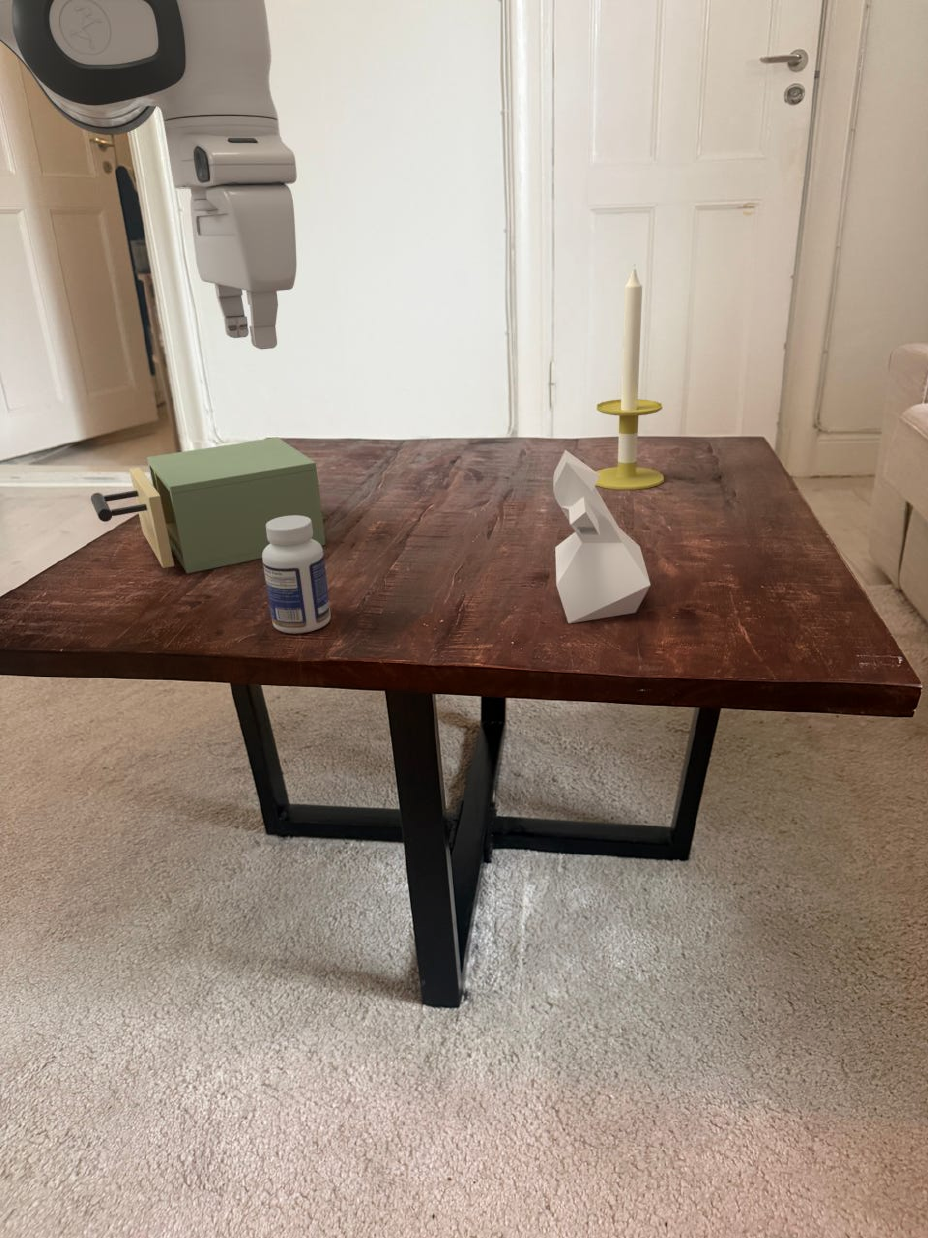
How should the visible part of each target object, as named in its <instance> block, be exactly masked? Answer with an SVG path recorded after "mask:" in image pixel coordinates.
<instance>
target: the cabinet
mask: <svg viewBox="0 0 928 1238" xmlns="http://www.w3.org/2000/svg"><path fill="white" fill-rule="evenodd" d="M146 460H147V465H148V470H149V475H150V480H151V481H150V482H151V484H152V485H153V486H154V488H155V489H156V491H157V492H158V490H157V485H156V480H155V475H154V472H155V473H156V474H157V476H158V477H159V478H160V480H161V481H162V482H163V484H164V485H165V486H166V488H167V489H168V490H169V491H170V496H171V501H172V506H173V511H174V516H175V521H176V526H177V531H178V536H179V542H180V547H181V552H182V553H181V552H180V550H179V548H178V547H177V545H176V544H175V542H174V541H173V539H172V538H171V536H170V535H169V533H168V537H169V541H170V546H171V551H172V553H173V555H174V556H175V557H176V559H177V560H178V562H179V564H180V565H181V567H182V568H183V570H184V572H185V573H186V574H192V573H197V572H201V571H207V570H211V569H216V568H221V567H226V566H230V565H236V564H240V563H241V564H242V563H245V562H251V561H254V560H260V559H262V553H263V550H264V549H265V547H266V546H268V545H269V544H271V543H270V542H269V541H268V539H267V533H266V523H267V522H269V521H270V520H273V519H275V518H278V517H283V516H292V515H300V516H305V517H308V518H310V519H311V522H312V528H313V536H312V537H311V539H313V540H316V541H317V542H318V543H319V544H320V545H321V546H322V547H323V546H326V537H325V527H324V520H323V512H322V511H323V510H322V502H321V495H320V494H321V493H320V486H319V478H318V469H317V463H316V461H314V460H313V459H311V458H310V457H308V456H307V455H305V454H303V453H302V452H300V451H299V450H298V449H296V448H295V447H293V446H291V445H290V444H288V443H287V442H285V441H284V440H283V439H281V438H280V437H271V438H265V439H257V440H252V441H251V440H250V441H244V442H237V443H231V444H225V445H219V446H218V445H217V446H212V447H204V448H199V449H191V450H185V451H178V452H172V453H171V452H170V453H166V454H159V455H158V454H157V455H152V456H147V457H146Z"/></svg>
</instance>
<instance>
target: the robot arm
mask: <svg viewBox="0 0 928 1238" xmlns="http://www.w3.org/2000/svg"><path fill="white" fill-rule="evenodd" d="M269 31H270V30H269V22H268V15H267V9H266V3H265V0H0V42H1V43H2V44H3V45H4V46H5V47H6V48H7V49H9V50H10V51H11V52H12V53H13V54H14V55H15V56H16V57H17V58H18V59H19V60H20V62H21V63H22V64H23V65H24V66H25V68H26V69H27V71H28V72H29V73H30V75H31V76H32V78H33V80H34V81H35V82H36V84H37V86H38V87H39V89H40V90H41V92H42V93H43V95H44V96H45V98H46V99H47V100H48V101H49V103H50V104H51V105H52V106H53V108H54V109H55V110H56V111H57V112H58V113H59V114H61V116H63V118H65V119H66V120H68V121H69V122H70V123H72V124H73V125H75V126H76V127H78V128H80V129H82V130H85V131H86V132H90V133H92V134H98V135H103V136H118V135H123V134H127V133H130V132H133V131H134V130H136V129H138V128H140V126H142V125H144V124H145V123H146V122H147V121H148V120H149V118H150V117H151V116H152V115H153V113H154V112H155V110H156V108H159V110H160V111H161V113H162V118H163V123H164V124H163V125H164V131H165V136H166V143H167V149H168V157H169V162H170V168H171V170H170V171H171V176H172V182H173V187H174V188H175V189H178V190H190V194H191V196H190V219H191V227H192V234H193V235H192V236H193V245H194V253H195V261H196V268H197V271H198V274H199V277H200V279H201V281H202V282H204V283H209V284H214V289H215V296H216V299H217V302H218V305H219V309H220V312H221V314H222V317H223V322H224V329H225V334H226V335H227V336H228V337H229V338H233V339H238V338H241V339H242V338H247V337H248V336H249V333H250V341H251V344H252V346H253V347H255V349H258V350H271V349H275V348H276V347H277V345H278V338H277V328H276V325H277V319H278V318H277V317H278V308H279V301H278V292H281V291H283V292H284V291H290V290H292V289H293V288H294V286H295V281H296V276H297V241H296V239H297V237H296V222H295V221H296V219H295V209H294V201H293V194H292V191H291V188H290V187H289V186H288V185H292V184H294V183H296V181H297V178H298V174H297V162H296V156H295V153H294V152H293V150H292V149H291V148H289V147H288V145H286V143H284V142H283V139H282V137H281V131H280V123H279V115H278V111H277V109H276V106H275V103H274V100H273V97H272V93H271V86H270V74H271V73H270V71H271V66H272V47H271V40H270V39H271V38H270V32H269ZM243 291H245V292H246V300H247V305H249V311H250V312H249V313H250V324H251V325H248V323H249V322H248V316H246V315H245V309H244V304H243V297H242V296H243ZM248 326H249V327H248Z"/></svg>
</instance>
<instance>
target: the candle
mask: <svg viewBox="0 0 928 1238" xmlns="http://www.w3.org/2000/svg"><path fill="white" fill-rule="evenodd" d="M635 267H636V264H635V263H633V268H632V269H631V274H630V277H629V280H628V282H627V284H626V285H625V286H624V303H623V333H622V335H623V336H622V340H623V341H622V366H621V367H622V368H621V371H622V372H621V394H620V399H610V400H607V401H601V402H600V403H597V404H596V411H597V412H600V413H601V414H605V415H611V416H618V417H619V418H618V446H617V448H618V449H617V466H614V467H607V468H603V469H599V470H596V471H595V472H596V473H598V474H599V475H600V477H599V479H598V481H597V483H596V485H595V486H597V487H600V488H604V489H609V490H618V491H635V490H637V491H638V490H644V489H652V488H654V487H658V486H660V485H661V484H662V483H664V482H665V477H664V474H663V473H661V472H659V471H657V470H655V469H651V468H646V467H638V466H637V462H638V461H637V459H638V439H639V438H638V437H639V436H638V435H639V416H646V415H651V414H656V413H658V412H660V411H662V410H663V404H662V403H661V402H659V401H655V400H651V399H639V375H640V374H639V373H640V352H641V350H640V349H641V328H642V327H641V326H642V325H641V323H642V303H643V302H642V301H643V300H642V299H643V285H642V284H641V282H640V281H639V277H638V274H637V269H636V268H635Z"/></svg>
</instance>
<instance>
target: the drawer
mask: <svg viewBox="0 0 928 1238" xmlns="http://www.w3.org/2000/svg"><path fill="white" fill-rule="evenodd" d="M129 474H130V478H131V483H132V488H133V490H130V491H125V492H119V493H118V492H117V493H112V494H105V495H103V494H102V493H101V492H95V493H93V494H92V495H91V496H90V502H91V503H92V506H93V508H94V510H95V513H96V516H97V518H98V519H99V521H101V522H106V523H107V522H110V521H111V520H112V519H113V517H117V516H122V515H129V514H133V513H138V517H139V520H140V526H141V531H142V534H143V535H144V537H145V539H146V541H147V543H148V544H149V546H150V548H151V550H152V552H153V553H154V555H155V557H156V559H157V561H158V562H159V563H160V565H161V568H163V569H167V568H172V567H175V562H174V556H173V551H172V549H171V546H170V541H169V537H168V533H169V535H170V536H171V538H172V539H173V541H174V542H175V544H176V545H177V547H178V548H179V550H180V552H181V547H180V542H179V536H178V531H177V526H176V521H175V516H174V511H173V506H172V501H171V496H170V491H169V490H168V489H167V488H166V486H165V485H164V484H163V482H162V481H161V480H160V478H159V477H158V476H157V474H156V473H155V472H154V475H155V480H156V485H157V490H158V492H157V491H156V489H155V488H154V486H153V485H152V481H150V479H149V478H148V477H147V475H146V474H145V472H144V471H143V470H142V468H141V467H139V466H138V467H132V468H129ZM132 498H135V502H136V504H135V505H130V506H124V507H120V508H119V507H117V508H112V509H111V508H110V506H109V504H108V502H113V501H121V500H126V499H132ZM181 553H182V552H181Z"/></svg>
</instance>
